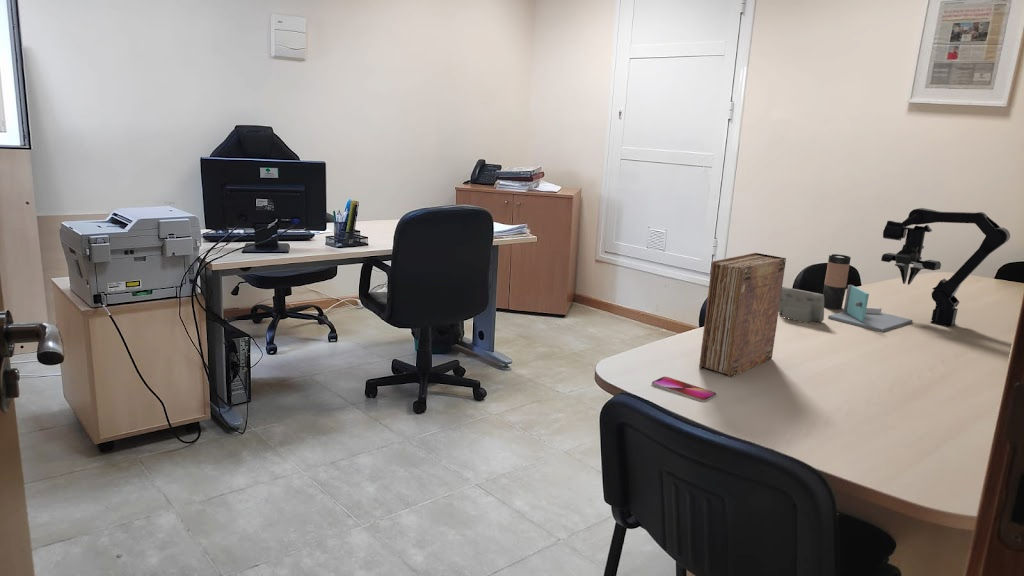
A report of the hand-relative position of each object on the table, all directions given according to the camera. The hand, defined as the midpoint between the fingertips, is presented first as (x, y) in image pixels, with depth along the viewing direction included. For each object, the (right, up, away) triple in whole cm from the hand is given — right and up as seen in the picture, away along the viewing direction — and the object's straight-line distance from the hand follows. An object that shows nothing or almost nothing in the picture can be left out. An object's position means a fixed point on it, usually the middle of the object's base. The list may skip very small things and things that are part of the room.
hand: (906, 284), depth 259 cm
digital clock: (-44, -13, -9) cm, 47 cm away
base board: (-17, -13, -7) cm, 23 cm away
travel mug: (-23, -9, +10) cm, 27 cm away
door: (-24, -12, -8) cm, 28 cm away
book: (-83, -23, -62) cm, 106 cm away
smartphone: (-103, -28, -84) cm, 136 cm away
